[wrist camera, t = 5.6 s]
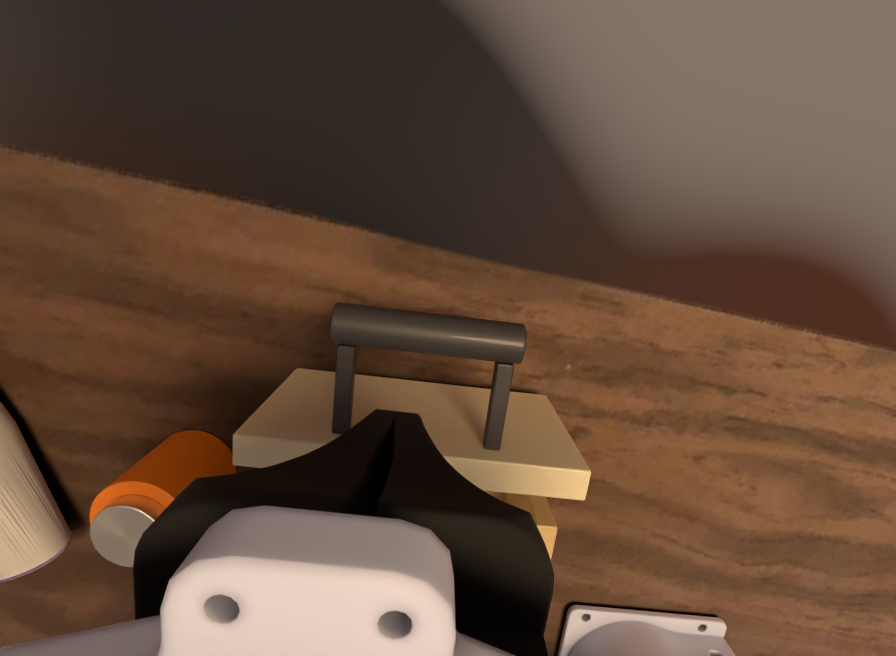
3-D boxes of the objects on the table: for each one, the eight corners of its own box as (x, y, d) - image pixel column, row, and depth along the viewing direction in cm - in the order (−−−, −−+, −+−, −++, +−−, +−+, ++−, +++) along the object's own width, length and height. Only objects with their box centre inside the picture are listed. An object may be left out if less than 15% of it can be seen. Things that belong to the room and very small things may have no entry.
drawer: (300, 271, 21) (233, 297, 14) (563, 302, 21) (620, 342, 15) (286, 580, 25) (228, 717, 18) (507, 600, 25) (532, 740, 19)
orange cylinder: (237, 433, 24) (176, 498, 18) (236, 503, 25) (178, 584, 19) (156, 425, 23) (69, 487, 18) (158, 495, 24) (77, 575, 19)
